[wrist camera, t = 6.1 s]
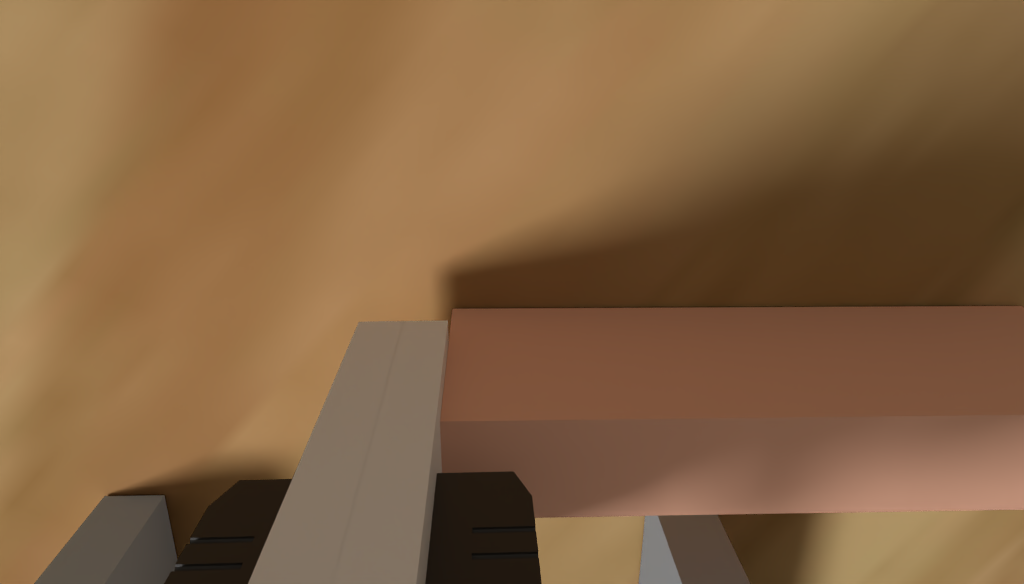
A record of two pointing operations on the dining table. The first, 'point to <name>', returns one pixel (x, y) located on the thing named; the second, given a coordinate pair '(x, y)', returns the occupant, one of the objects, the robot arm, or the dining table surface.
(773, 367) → the gate
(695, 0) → the dining table surface
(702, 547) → the channel
